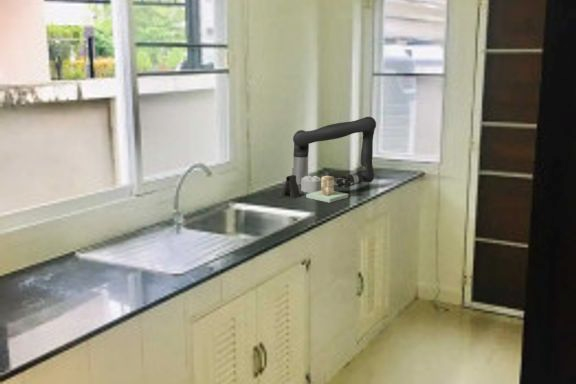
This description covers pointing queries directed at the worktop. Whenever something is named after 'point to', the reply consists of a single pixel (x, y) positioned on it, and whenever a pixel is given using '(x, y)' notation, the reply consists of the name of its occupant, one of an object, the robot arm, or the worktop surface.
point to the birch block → (327, 185)
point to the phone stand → (291, 187)
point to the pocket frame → (325, 198)
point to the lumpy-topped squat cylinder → (310, 184)
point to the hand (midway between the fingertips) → (332, 184)
